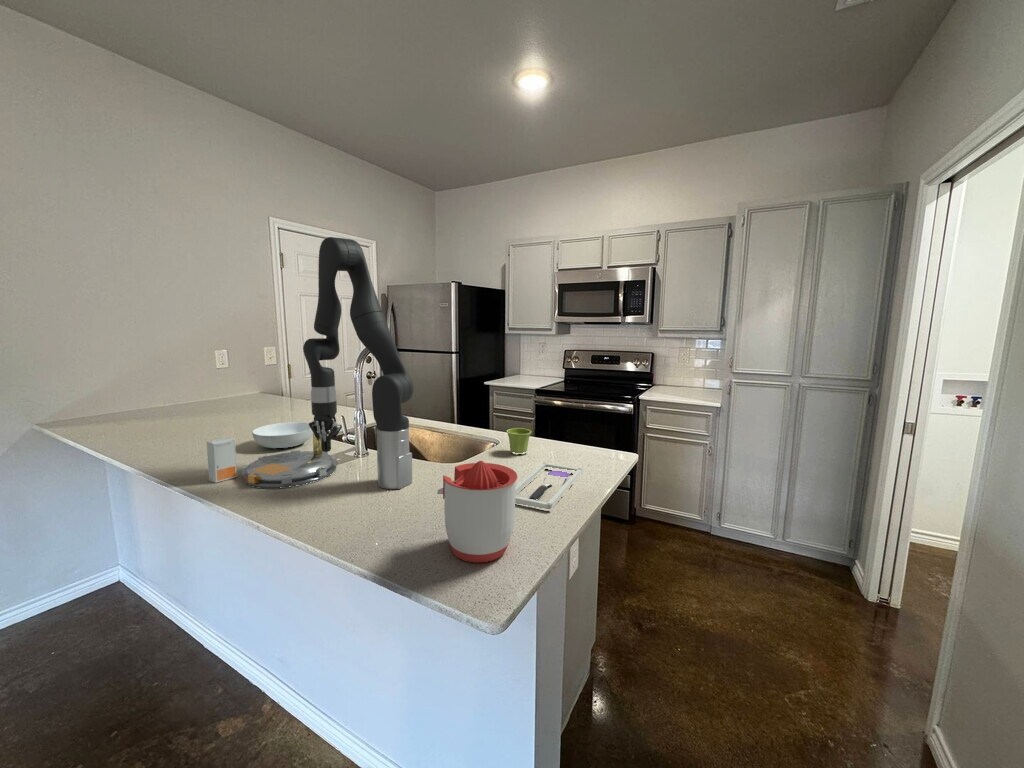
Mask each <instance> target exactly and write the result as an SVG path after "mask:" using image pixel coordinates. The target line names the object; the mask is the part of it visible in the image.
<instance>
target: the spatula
mask: <svg viewBox="0 0 1024 768" xmlns="http://www.w3.org/2000/svg"><path fill="white" fill-rule="evenodd" d="M547 474H548V475H553V476H560V477H568V478H569V476H570V474H569V473H567V472H562V471H548V473H547ZM548 486H551V485H550V484H548V483H543V484H541V485H539V486H538V487H537V489H535V491H534V492H532V494H531V495H530V496H529V497H528V499H533V500H536V499H538V498H539V497H540V496H541V497H542V495H543V494H544V493H545V492H546V491H547V488H548ZM541 497H540V498H541ZM540 498H539V499H540ZM539 499H538V500H539Z"/></svg>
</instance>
